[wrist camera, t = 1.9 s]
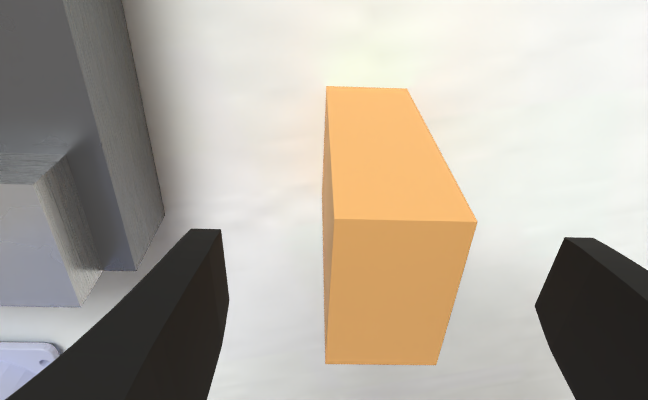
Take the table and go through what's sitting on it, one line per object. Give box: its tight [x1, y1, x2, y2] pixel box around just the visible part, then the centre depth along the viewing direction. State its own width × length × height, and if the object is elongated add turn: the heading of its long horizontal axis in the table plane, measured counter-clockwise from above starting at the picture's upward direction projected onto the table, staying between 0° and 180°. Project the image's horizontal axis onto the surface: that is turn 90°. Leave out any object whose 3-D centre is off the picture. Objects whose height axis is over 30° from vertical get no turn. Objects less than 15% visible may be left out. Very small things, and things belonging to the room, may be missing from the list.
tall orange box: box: [322, 86, 477, 365], centre depth 11 cm, size 4×2×7 cm, turn 178°
